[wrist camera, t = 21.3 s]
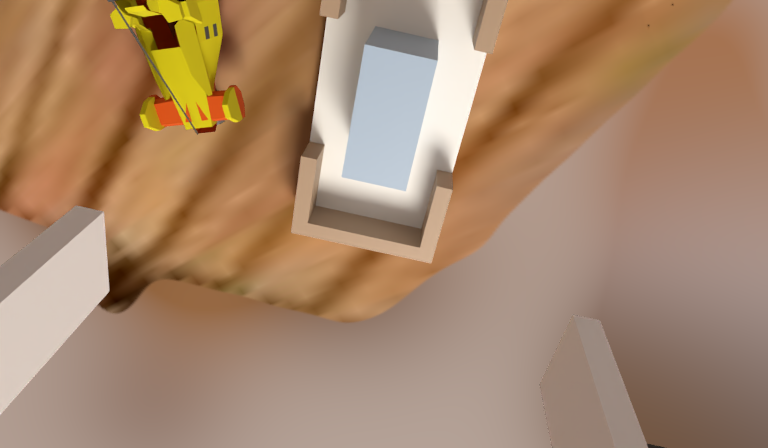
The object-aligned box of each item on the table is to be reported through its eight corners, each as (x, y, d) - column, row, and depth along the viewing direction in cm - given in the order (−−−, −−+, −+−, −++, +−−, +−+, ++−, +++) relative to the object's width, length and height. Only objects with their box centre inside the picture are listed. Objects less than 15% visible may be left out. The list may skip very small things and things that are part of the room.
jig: (387, -402, 29) (379, -445, 25) (600, -352, 29) (621, -388, 25) (302, 209, 47) (291, 232, 44) (432, 237, 47) (431, 263, 44)
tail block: (375, 26, 38) (364, 44, 33) (438, 40, 38) (437, 60, 33) (353, 144, 43) (341, 177, 38) (410, 157, 43) (405, 191, 38)
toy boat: (185, 120, 44) (123, 171, 36) (99, -146, 36) (-11, -163, 27) (261, 112, 43) (216, 162, 35) (191, -164, 35) (107, -188, 26)
